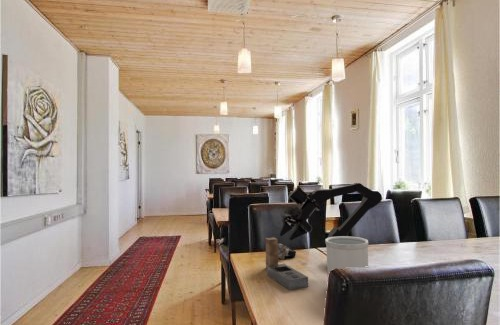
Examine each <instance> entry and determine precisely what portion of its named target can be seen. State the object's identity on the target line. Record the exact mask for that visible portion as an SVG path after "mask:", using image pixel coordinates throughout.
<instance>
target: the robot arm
mask: <svg viewBox="0 0 500 325" xmlns="http://www.w3.org/2000/svg"><path fill="white" fill-rule="evenodd" d="M353 193H358V194H359V195H360V196H362V199H361V200H360V201H361V202H360V204H358V206H357V207H356V208H355V209H354V211H352V212H351V214H350V215H349V216H348V217H347V218H346V220H344V222H343V223H341V225H340V226H338V227H336V226H333V228H332V229H331V230H330V231H328V236H327V238H329V237H337V236H349V235H348V234H349V233H350V232H351V230H352V229H353V228H354V227H355V226H356V224H358V222H359V221H360V220H361V219H362V218H363V217H364V216H365V215H366V213H367V212H368V211H369V210H371V209H373V208H375V207H377V205H379V204H380V203H381V202H382V201H383V196H382V193H380V192H379V191H376V190H372V189H370V188H369V187H367V186H366V185H365V186H364V185H363V184H362V183H360V182H355V183H351V184H347V185H343V186H337V187H333V188H322V189H314V190H313V191H312V192H309V193H308V192H307V193H306V192H305V191H304V190H303V189H302V188H301V187H300V186H297V187H296V188H295V189H294V190H292V191H291V193H290V194H289V195H288V198H289V199H290V200H291V201H293V202H294V203H295V204H296V205H301V207H299V206H295V205H294V206H292V207H291V206H287V205H286V206H285V208H284V211H283V212H284V215H283V216H281V221H282V226H281V230H280V232H279V236H280V237H282V236H284V235H285V234H288V232H290V231H291V230H292V229H293V228H294V227H295V228H294V230H293V231H292V234H291V235H290V237H289V240H290V241H293V240H296V239H297V238H299V237H301V236H303V235H305V234H310V233H311V232H312V231H313V226H312V225H311V224H310V223H309V221H308V220H310V219H312V218H311V215H312V214H313V213H314V211H317V212H318V211H321V210H322V208H321V204H319V203H324V202H326V201H328V200H330V199H332V198H335V197H339V196H340V197H341V196H343V195H349V194H353ZM316 202H317V203H316Z"/></svg>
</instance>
